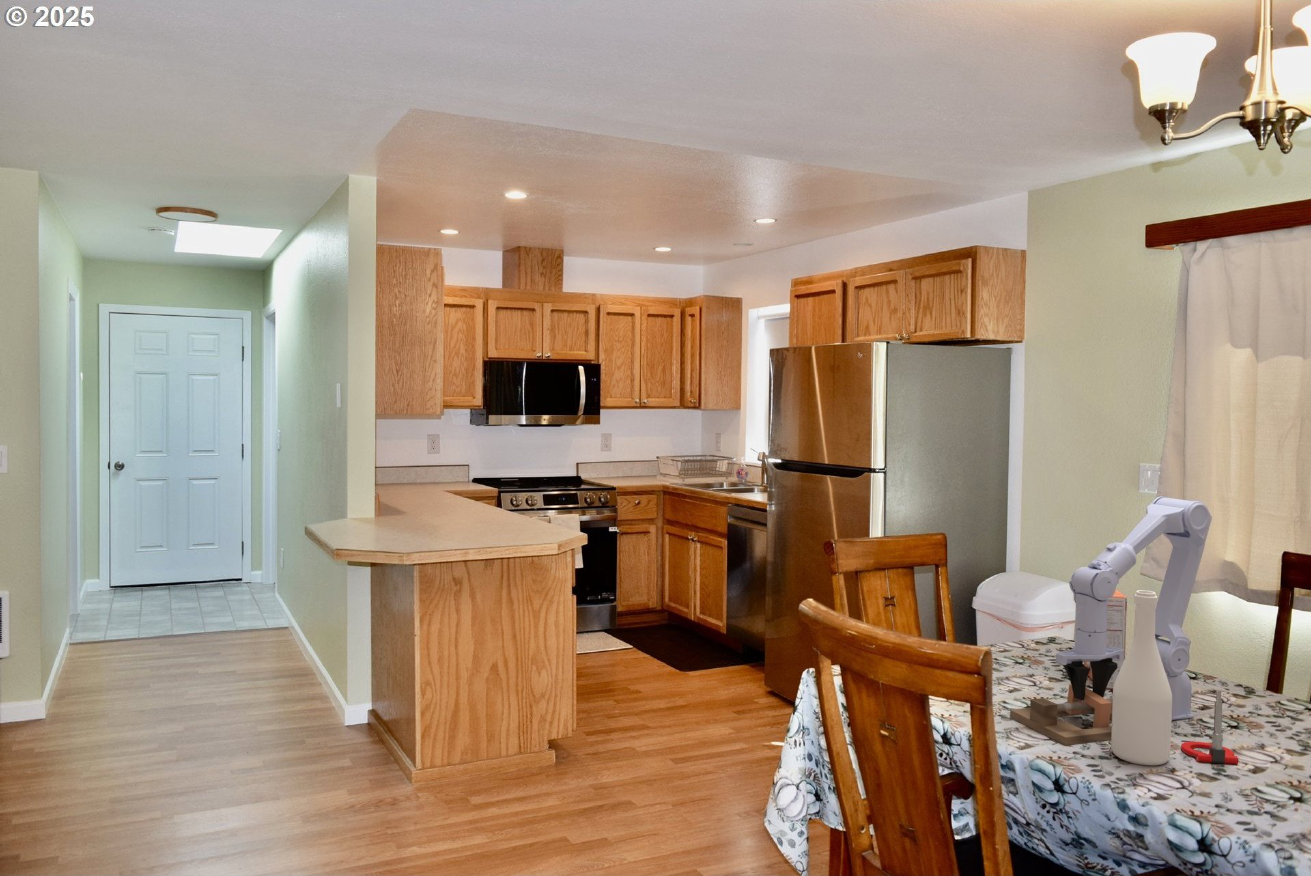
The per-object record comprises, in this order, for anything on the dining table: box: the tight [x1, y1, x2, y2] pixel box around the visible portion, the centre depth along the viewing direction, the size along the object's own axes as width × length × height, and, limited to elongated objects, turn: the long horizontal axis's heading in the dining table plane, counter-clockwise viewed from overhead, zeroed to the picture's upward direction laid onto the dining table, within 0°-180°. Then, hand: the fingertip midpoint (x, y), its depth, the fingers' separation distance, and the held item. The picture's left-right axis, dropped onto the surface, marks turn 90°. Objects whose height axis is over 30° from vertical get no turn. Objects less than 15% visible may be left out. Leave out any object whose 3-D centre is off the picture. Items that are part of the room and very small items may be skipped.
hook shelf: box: [1009, 697, 1113, 746], centre depth 193 cm, size 24×16×6 cm, turn 107°
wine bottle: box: [1110, 589, 1172, 766], centre depth 176 cm, size 10×10×30 cm
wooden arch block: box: [1066, 684, 1112, 728], centre depth 193 cm, size 2×9×6 cm, turn 17°
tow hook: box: [1180, 689, 1239, 765], centre depth 178 cm, size 8×13×9 cm
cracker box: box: [1083, 588, 1128, 690], centre depth 222 cm, size 14×6×21 cm, turn 168°
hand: (1088, 697), depth 193 cm, fingers open, 4 cm apart
